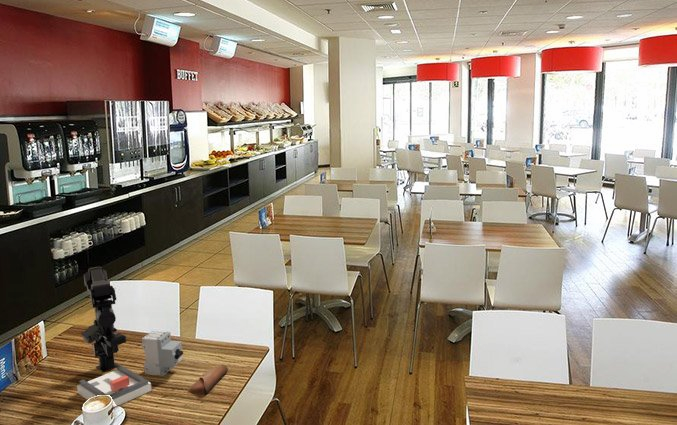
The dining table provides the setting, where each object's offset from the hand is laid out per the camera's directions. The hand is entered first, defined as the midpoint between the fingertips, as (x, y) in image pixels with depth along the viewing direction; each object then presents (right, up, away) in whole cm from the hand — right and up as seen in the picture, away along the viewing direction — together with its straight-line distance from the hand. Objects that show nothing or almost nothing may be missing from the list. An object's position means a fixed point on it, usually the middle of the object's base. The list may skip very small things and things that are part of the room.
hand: (108, 355), depth 206 cm
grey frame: (+4, -10, -4) cm, 11 cm away
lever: (+7, -12, -7) cm, 16 cm away
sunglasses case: (+37, -11, +2) cm, 39 cm away
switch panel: (+4, -13, -4) cm, 14 cm away
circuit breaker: (+18, -9, +11) cm, 23 cm away
